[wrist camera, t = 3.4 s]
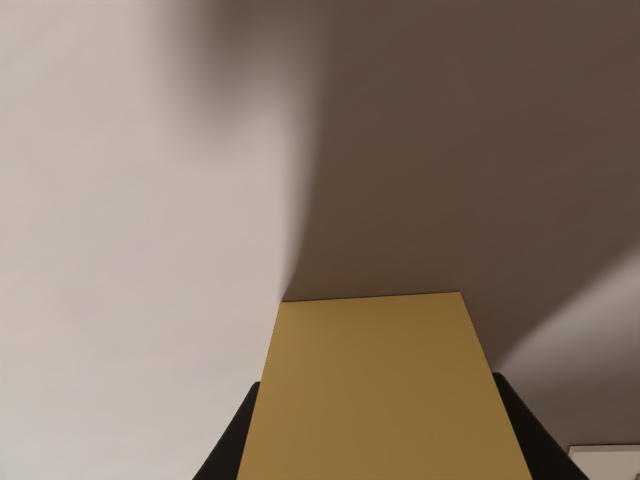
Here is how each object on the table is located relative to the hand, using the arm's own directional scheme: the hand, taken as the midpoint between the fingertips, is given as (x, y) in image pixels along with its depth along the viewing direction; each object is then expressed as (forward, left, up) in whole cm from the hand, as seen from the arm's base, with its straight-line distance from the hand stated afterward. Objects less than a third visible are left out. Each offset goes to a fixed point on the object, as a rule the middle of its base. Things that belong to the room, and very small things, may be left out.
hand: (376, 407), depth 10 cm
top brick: (0, 0, -1) cm, 1 cm away
